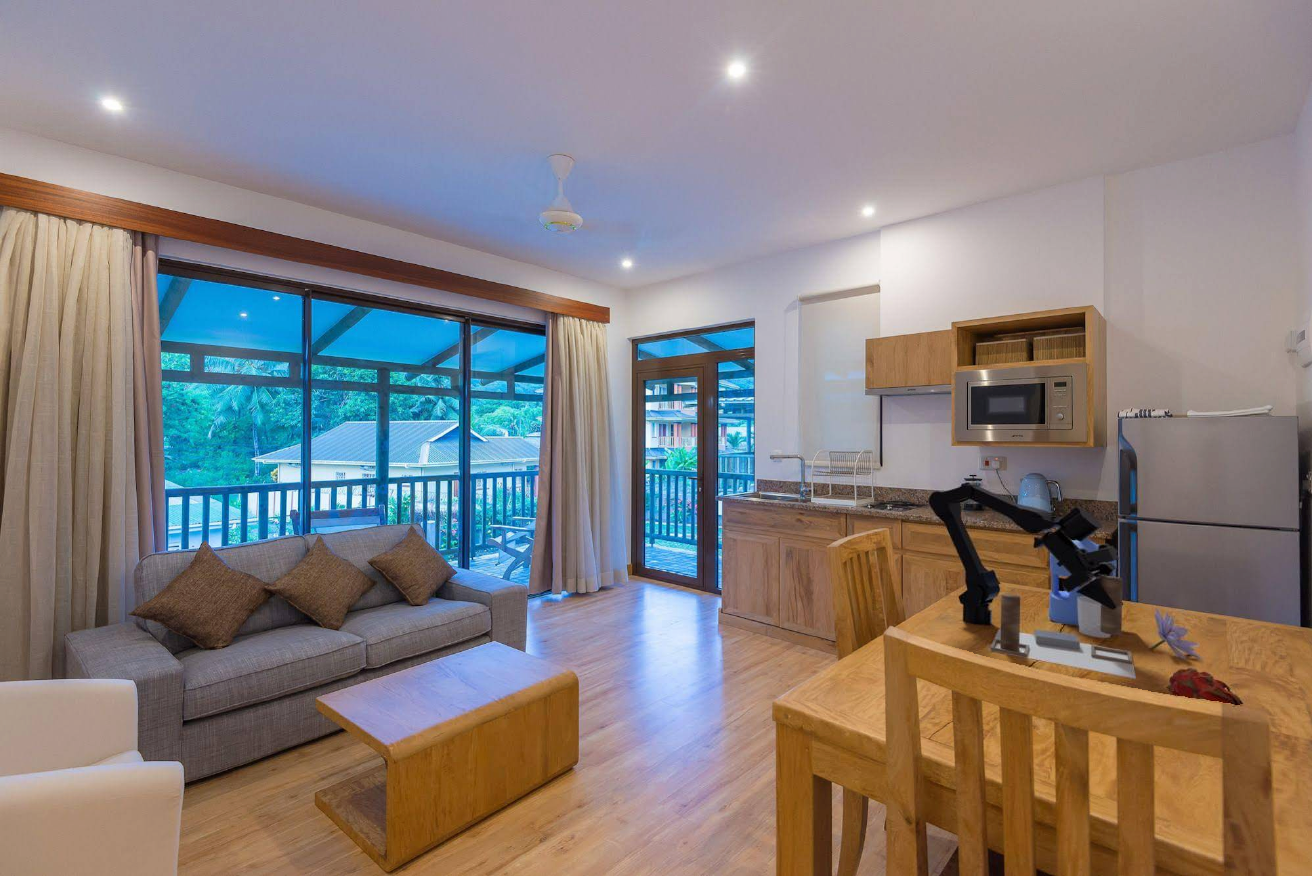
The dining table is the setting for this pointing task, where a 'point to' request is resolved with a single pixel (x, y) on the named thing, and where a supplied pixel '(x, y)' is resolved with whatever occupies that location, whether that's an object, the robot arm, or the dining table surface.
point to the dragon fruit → (1201, 687)
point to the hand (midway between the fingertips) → (1118, 607)
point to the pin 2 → (1109, 617)
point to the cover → (1056, 639)
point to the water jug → (1062, 601)
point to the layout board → (1073, 655)
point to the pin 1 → (1010, 622)
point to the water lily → (1173, 636)
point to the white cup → (1089, 617)
